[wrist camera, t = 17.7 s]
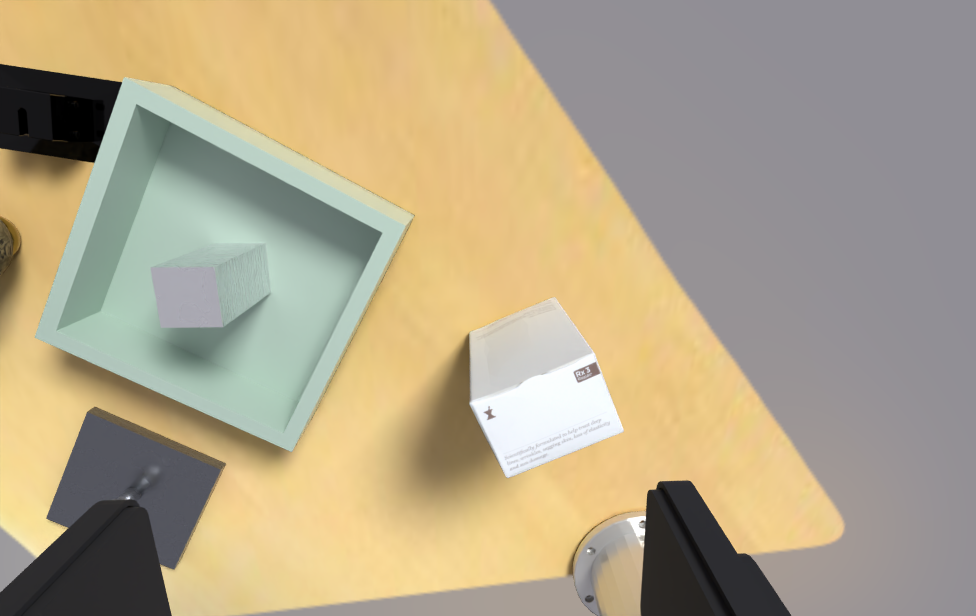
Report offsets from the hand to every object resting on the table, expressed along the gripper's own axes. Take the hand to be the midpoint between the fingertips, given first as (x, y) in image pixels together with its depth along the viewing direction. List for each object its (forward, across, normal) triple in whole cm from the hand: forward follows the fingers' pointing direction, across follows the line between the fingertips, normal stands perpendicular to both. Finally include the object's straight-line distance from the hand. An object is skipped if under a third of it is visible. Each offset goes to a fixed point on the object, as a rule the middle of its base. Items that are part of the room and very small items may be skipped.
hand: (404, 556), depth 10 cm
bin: (+36, +17, +2) cm, 40 cm away
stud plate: (+36, +30, +22) cm, 52 cm away
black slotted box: (+37, +29, -10) cm, 48 cm away
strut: (+35, +17, +2) cm, 39 cm away
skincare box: (+36, -5, +9) cm, 38 cm away
